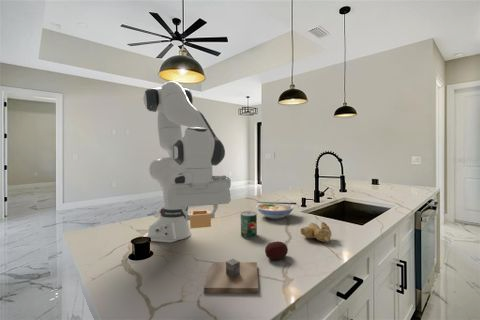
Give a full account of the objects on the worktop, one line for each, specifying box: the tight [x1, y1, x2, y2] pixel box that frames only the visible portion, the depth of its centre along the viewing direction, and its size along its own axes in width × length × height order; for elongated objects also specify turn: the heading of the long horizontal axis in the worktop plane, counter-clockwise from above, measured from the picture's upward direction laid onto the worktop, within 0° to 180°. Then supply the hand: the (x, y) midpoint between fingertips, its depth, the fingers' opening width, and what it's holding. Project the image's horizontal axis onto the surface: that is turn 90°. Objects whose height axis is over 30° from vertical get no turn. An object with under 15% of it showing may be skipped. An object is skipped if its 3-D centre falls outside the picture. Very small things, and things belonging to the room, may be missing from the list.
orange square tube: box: [189, 209, 212, 230], centre depth 78 cm, size 6×6×4 cm
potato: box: [264, 240, 289, 261], centre depth 92 cm, size 7×10×6 cm
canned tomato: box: [240, 210, 258, 240], centre depth 116 cm, size 8×8×11 cm
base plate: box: [203, 258, 259, 294], centre depth 78 cm, size 16×16×6 cm
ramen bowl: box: [256, 201, 297, 220], centre depth 147 cm, size 25×23×8 cm
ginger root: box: [299, 221, 333, 243], centre depth 111 cm, size 16×16×8 cm
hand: (200, 218), depth 78 cm, fingers closed on orange square tube, 6 cm apart
